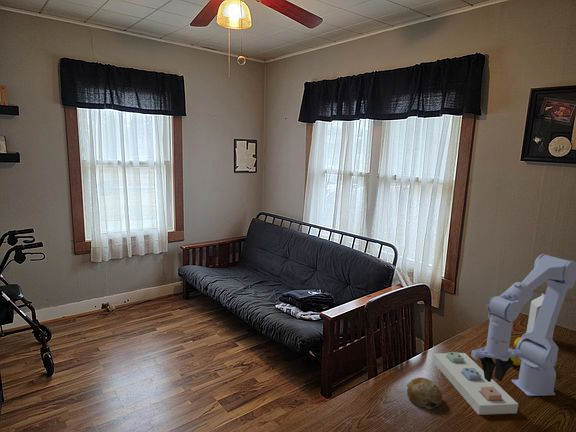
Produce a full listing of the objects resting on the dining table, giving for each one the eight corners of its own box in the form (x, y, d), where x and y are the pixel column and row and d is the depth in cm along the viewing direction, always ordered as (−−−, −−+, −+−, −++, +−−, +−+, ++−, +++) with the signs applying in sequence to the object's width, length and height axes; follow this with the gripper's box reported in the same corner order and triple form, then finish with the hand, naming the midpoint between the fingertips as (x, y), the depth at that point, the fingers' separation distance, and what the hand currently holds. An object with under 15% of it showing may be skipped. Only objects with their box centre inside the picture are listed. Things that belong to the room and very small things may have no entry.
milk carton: (531, 342, 153) (538, 298, 149) (525, 334, 159) (532, 291, 156) (551, 345, 151) (559, 300, 147) (545, 337, 157) (552, 294, 154)
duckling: (523, 357, 140) (527, 332, 139) (536, 365, 135) (540, 340, 134) (499, 361, 137) (503, 336, 135) (512, 370, 132) (516, 343, 130)
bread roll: (413, 418, 111) (423, 404, 107) (398, 386, 119) (406, 371, 115) (442, 413, 114) (452, 399, 110) (424, 382, 122) (433, 367, 118)
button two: (457, 358, 134) (457, 351, 134) (463, 364, 130) (464, 357, 130) (446, 358, 134) (447, 351, 134) (452, 364, 130) (453, 357, 130)
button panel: (463, 360, 137) (464, 352, 137) (516, 413, 110) (518, 404, 109) (432, 361, 136) (433, 353, 135) (478, 414, 108) (479, 405, 108)
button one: (492, 393, 115) (493, 386, 114) (500, 402, 111) (501, 394, 110) (479, 394, 114) (481, 386, 114) (488, 402, 110) (489, 394, 110)
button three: (473, 374, 125) (474, 367, 124) (480, 381, 121) (481, 374, 120) (461, 374, 124) (462, 367, 124) (468, 382, 120) (469, 374, 120)
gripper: (483, 344, 105) (477, 388, 107) (531, 343, 106) (525, 387, 108) (469, 332, 111) (464, 374, 114) (514, 332, 113) (508, 372, 115)
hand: (492, 379), depth 112 cm, fingers open, 3 cm apart
